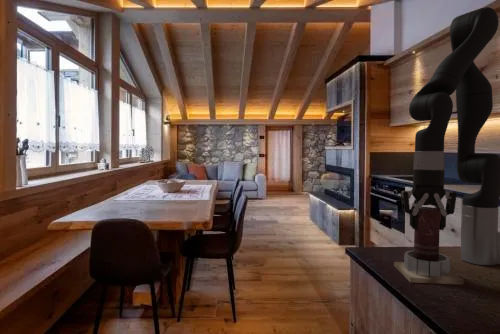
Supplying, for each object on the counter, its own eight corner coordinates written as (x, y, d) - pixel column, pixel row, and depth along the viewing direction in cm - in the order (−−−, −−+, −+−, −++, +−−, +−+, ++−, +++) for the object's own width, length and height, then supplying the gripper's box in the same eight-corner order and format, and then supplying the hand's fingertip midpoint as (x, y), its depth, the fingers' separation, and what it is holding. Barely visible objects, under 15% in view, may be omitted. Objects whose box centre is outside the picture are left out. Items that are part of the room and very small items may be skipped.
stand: (440, 267, 100) (440, 263, 99) (463, 284, 87) (463, 279, 87) (394, 265, 101) (394, 261, 101) (410, 282, 88) (410, 277, 88)
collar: (438, 264, 98) (438, 250, 98) (457, 278, 88) (457, 262, 88) (399, 263, 100) (399, 249, 99) (413, 276, 89) (413, 261, 89)
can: (443, 262, 90) (444, 210, 89) (417, 261, 91) (418, 209, 91) (435, 256, 96) (436, 206, 95) (411, 254, 97) (412, 205, 97)
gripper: (449, 167, 96) (448, 227, 96) (396, 167, 97) (395, 225, 98) (464, 168, 88) (462, 233, 89) (406, 168, 90) (404, 231, 90)
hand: (427, 228), depth 93 cm, fingers closed on can, 6 cm apart
